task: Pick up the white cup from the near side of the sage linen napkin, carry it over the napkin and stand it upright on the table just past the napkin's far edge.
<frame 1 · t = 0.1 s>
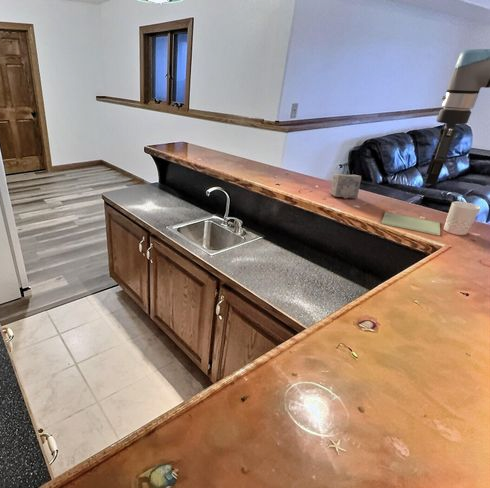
hand: (430, 179, 113), 20 cm above the counter, tool pointing down, fingers open, 13 cm apart
incense holder: (342, 197, 158), on the counter
napkin: (410, 223, 131), on the counter
white cup: (454, 231, 125), on the counter
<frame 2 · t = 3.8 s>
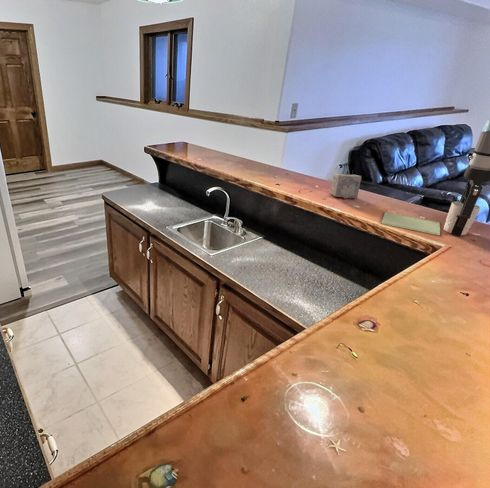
hand: (455, 230, 125), 0 cm above the counter, tool pointing down, fingers closed on white cup, 8 cm apart
white cup: (454, 231, 125), on the counter, touching gripper
everything else where it was.
when the fingers open (0 cm above the counter, at t = 11.2 s): white cup stays where it is, on the counter.
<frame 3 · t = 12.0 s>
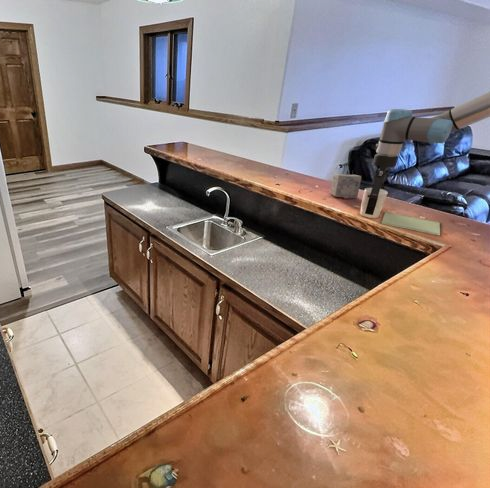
hand: (371, 209, 137), 3 cm above the counter, tool pointing down, fingers open, 13 cm apart
white cup: (368, 215, 138), on the counter
everything else where it was.
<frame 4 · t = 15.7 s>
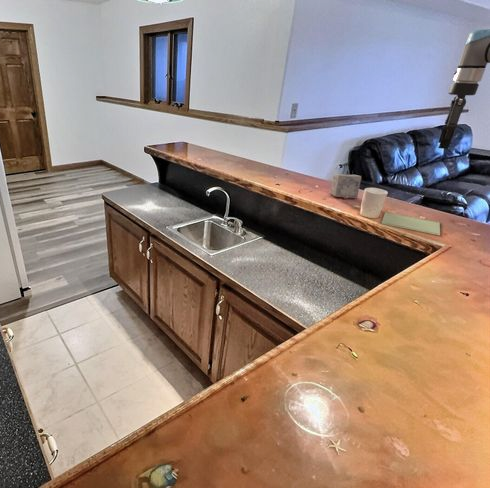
hand: (442, 145, 129), 27 cm above the counter, tool pointing down, fingers open, 13 cm apart
nothing on the counter moved.
at the end: white cup inside the target area (0.5 cm from its centre), on the counter; white cup tilted 0°; the gripper is holding nothing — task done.
